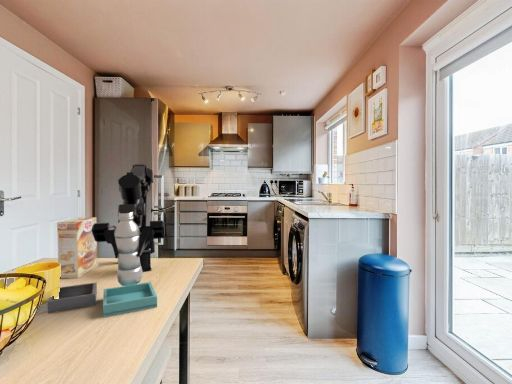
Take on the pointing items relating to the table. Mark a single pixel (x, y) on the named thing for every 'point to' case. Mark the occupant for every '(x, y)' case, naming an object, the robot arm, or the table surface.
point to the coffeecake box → (76, 246)
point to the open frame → (73, 297)
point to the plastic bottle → (128, 250)
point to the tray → (128, 299)
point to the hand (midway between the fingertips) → (127, 256)
